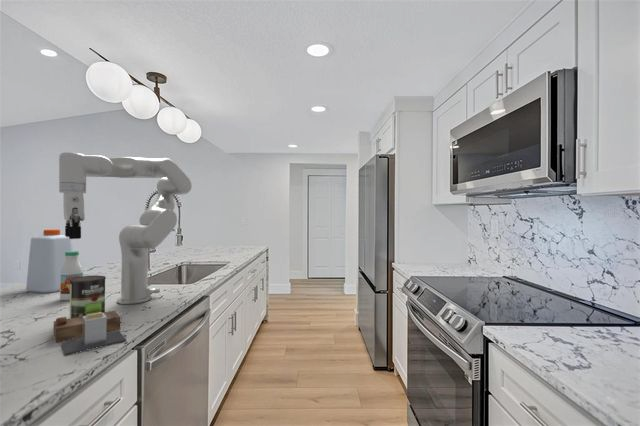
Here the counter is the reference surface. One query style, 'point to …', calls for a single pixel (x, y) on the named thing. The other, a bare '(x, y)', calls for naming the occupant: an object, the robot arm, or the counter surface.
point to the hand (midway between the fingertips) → (72, 237)
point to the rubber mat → (79, 346)
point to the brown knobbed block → (81, 326)
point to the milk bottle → (69, 273)
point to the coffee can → (87, 295)
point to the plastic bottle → (47, 261)
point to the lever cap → (94, 328)
